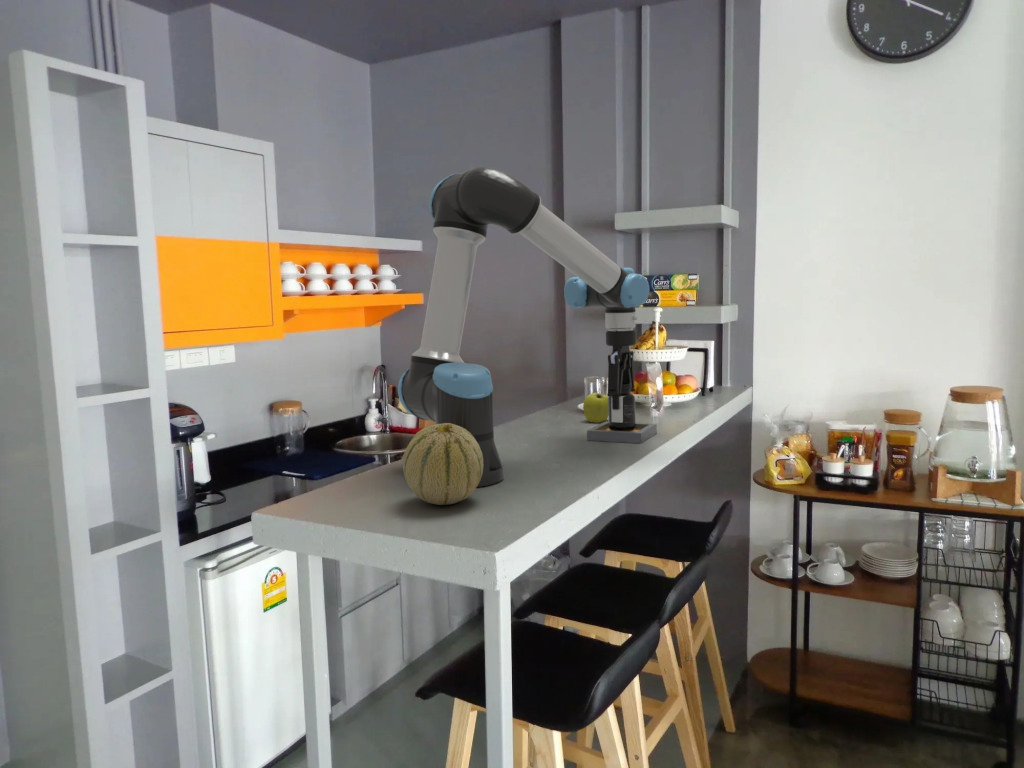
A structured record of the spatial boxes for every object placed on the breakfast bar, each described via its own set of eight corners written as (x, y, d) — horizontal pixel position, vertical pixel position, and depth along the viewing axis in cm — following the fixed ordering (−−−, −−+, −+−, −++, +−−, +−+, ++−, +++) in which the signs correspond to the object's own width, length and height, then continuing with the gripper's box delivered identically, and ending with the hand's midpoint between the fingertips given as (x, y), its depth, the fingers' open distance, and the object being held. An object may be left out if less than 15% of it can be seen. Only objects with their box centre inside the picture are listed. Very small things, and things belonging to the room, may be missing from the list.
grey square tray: (641, 443, 185) (640, 433, 185) (587, 440, 191) (586, 430, 191) (656, 433, 198) (656, 423, 197) (605, 430, 204) (605, 421, 203)
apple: (578, 416, 222) (587, 383, 221) (604, 423, 222) (614, 391, 221) (579, 421, 214) (589, 387, 213) (606, 428, 214) (616, 395, 213)
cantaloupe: (445, 488, 148) (441, 412, 146) (502, 500, 139) (499, 418, 137) (386, 506, 137) (382, 424, 135) (444, 520, 127) (440, 432, 126)
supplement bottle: (634, 427, 197) (634, 381, 196) (636, 432, 190) (636, 384, 189) (608, 427, 198) (607, 382, 196) (608, 432, 191) (608, 385, 190)
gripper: (622, 331, 181) (624, 426, 183) (646, 327, 198) (647, 414, 201) (592, 332, 184) (594, 425, 187) (618, 327, 202) (620, 413, 204)
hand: (622, 419), depth 194 cm, fingers open, 7 cm apart
